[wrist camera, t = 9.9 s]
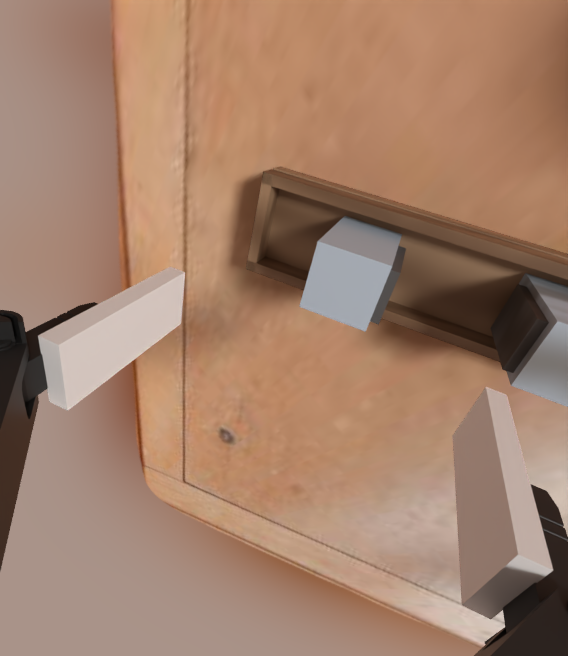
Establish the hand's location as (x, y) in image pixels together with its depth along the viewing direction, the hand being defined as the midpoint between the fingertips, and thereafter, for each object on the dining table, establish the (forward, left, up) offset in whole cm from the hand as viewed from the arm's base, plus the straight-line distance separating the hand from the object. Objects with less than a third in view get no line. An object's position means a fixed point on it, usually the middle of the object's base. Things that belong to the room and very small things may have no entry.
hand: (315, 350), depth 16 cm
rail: (0, +4, -17) cm, 18 cm away
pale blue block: (0, 0, -16) cm, 16 cm away
